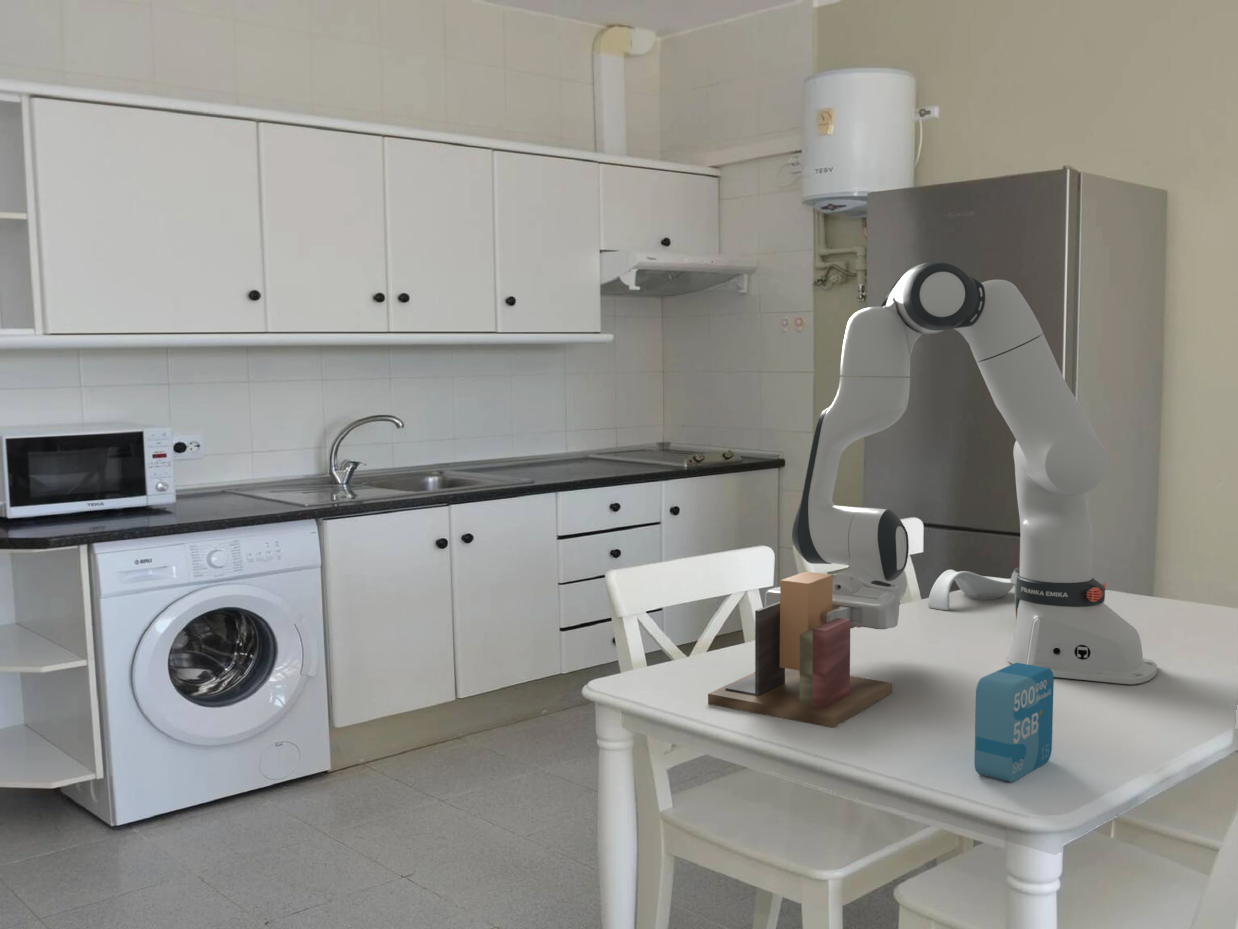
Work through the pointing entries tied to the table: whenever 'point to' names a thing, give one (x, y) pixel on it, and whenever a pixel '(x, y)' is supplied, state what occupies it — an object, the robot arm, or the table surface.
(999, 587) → the spoon rest
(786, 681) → the wooden bookend stand
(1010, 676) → the data package
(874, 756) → the table surface
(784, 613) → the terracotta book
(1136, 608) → the table surface
